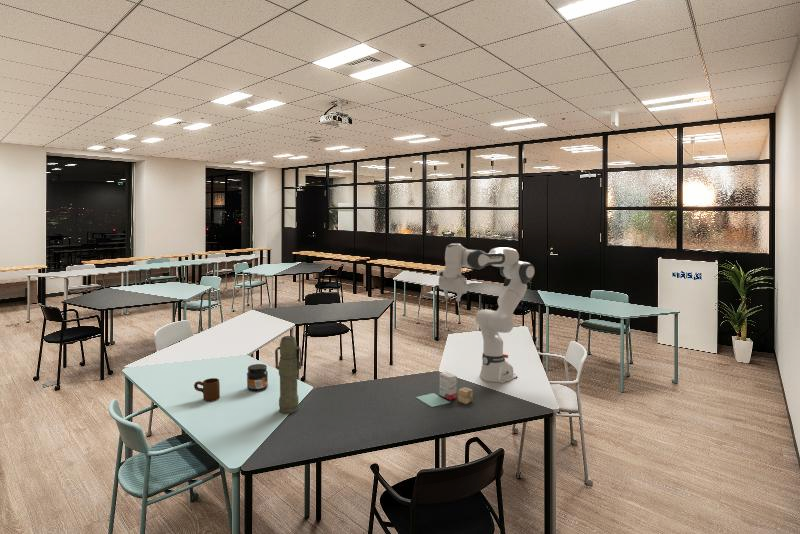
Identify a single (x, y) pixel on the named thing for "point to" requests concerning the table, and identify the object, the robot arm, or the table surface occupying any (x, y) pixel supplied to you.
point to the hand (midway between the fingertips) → (452, 299)
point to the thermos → (288, 374)
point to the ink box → (448, 385)
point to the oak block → (465, 395)
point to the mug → (209, 389)
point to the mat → (432, 400)
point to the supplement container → (257, 377)
